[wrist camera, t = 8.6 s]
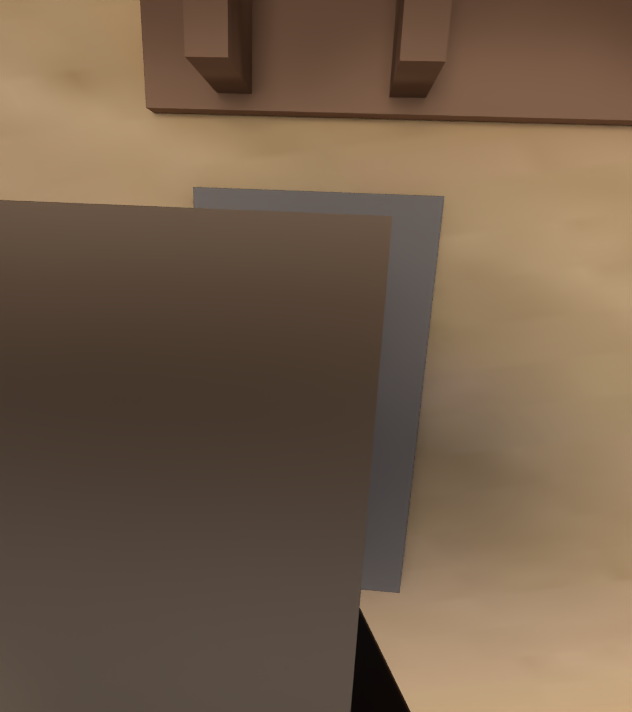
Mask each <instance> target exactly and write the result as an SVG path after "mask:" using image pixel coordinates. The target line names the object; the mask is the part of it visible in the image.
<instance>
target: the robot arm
mask: <svg viewBox="0 0 632 712" xmlns="http://www.w3.org/2000/svg"><path fill="white" fill-rule="evenodd" d="M351 712H410V710H409V708H408V706H407V704H406V701H405V699H404V697H403V695H402V693H401V691H400V689H399V687H398V685H397V683H396V681H395V679H394V677H393V675H392V673H391V671H390V669H389V667H388V665H387V663H386V660H385V658H384V656H383V654H382V652H381V650H380V648H379V646H378V644H377V642H376V640H375V638H374V636H373V634H372V632H371V630H370V628H369V626H368V624H367V622H366V619H365V617H364V615H363V613H362V611H361V609H360V608H359V618H358V629H357V641H356V653H355V665H354V677H353V688H352V700H351Z"/></svg>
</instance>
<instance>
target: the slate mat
mask: <svg viewBox="0 0 632 712" xmlns="http://www.w3.org/2000/svg"><path fill="white" fill-rule="evenodd" d="M193 198H194V208H207V209H231V210H256V211H281V212H305V213H330V214H355V215H379V216H393V217H392V229H391V240H390V252H389V264H388V276H387V288H386V299H385V311H384V323H383V335H382V347H381V358H380V370H379V382H378V394H377V405H376V417H375V429H374V441H373V453H372V464H371V476H370V488H369V500H368V512H367V523H366V535H365V547H364V559H363V571H362V582H361V589H362V590H373V591H384V592H395V593H400V584H401V575H402V566H403V557H404V549H405V540H406V531H407V522H408V513H409V504H410V495H411V487H412V478H413V469H414V460H415V451H416V442H417V433H418V425H419V416H420V407H421V398H422V389H423V380H424V371H425V363H426V354H427V345H428V336H429V327H430V318H431V309H432V301H433V292H434V283H435V274H436V265H437V256H438V247H439V238H440V230H441V221H442V212H443V203H444V196H423V195H395V194H368V193H341V192H314V191H286V190H259V189H232V188H205V187H193Z"/></svg>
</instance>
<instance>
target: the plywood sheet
mask: <svg viewBox="0 0 632 712" xmlns="http://www.w3.org/2000/svg"><path fill="white" fill-rule="evenodd" d="M392 217H393V216H379V215H355V214H330V213H305V212H281V211H256V210H231V209H207V208H182V207H157V206H133V205H108V204H84V203H59V202H34V201H10V200H0V712H351V700H352V688H353V677H354V665H355V653H356V641H357V629H358V618H359V606H360V594H361V582H362V571H363V559H364V547H365V535H366V523H367V512H368V500H369V488H370V476H371V464H372V453H373V441H374V429H375V417H376V405H377V394H378V382H379V370H380V358H381V347H382V335H383V323H384V311H385V299H386V288H387V276H388V264H389V252H390V240H391V229H392Z"/></svg>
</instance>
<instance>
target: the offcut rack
mask: <svg viewBox="0 0 632 712" xmlns="http://www.w3.org/2000/svg"><path fill="white" fill-rule="evenodd" d="M140 5H141V23H142V41H143V59H144V77H145V95H146V108H148V109H149V110H151V111H152V112H154V113H187V114H224V115H262V116H300V117H337V118H375V119H412V120H450V121H487V122H525V123H562V124H600V125H632V0H140Z"/></svg>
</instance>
